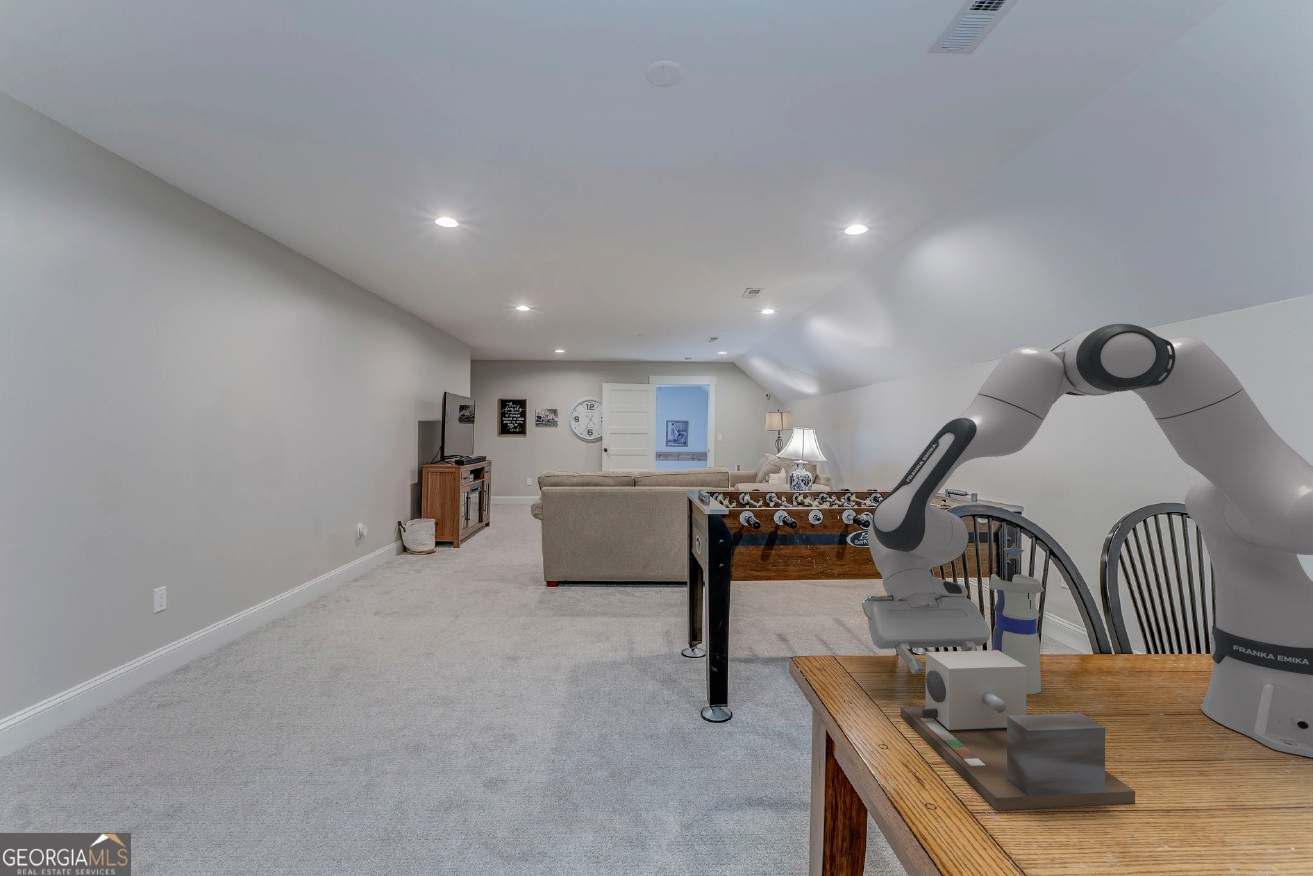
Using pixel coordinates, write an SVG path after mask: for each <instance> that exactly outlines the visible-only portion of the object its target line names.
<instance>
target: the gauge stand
mask: <svg viewBox="0 0 1313 876" xmlns="http://www.w3.org/2000/svg"><path fill="white" fill-rule="evenodd" d="M922 709H926V705H912V706H911V705H909V706H900V717H901V718H902V719H903V720H904V721H905V722H906V723H907V724H908V725H909V726H910V727H911V728H912V729H913V730H914V731H915V732H916V733H917V734H918V735H919V736H921V738H922V739H924V741H925V742H926V743H927V744H929V746H930V747H932V749H933V750H934V751H936V753H938V755H940V756H941V757H942V758H943V759H944V760H945V762H947V763H948V765H950V767H952V768H953V769H954V770H955V771H956V773H958V774H959V775H960V776H961V777H962V779H964V780H965V781H966V782H967V783H968V784H969V785H970V786H971V787H972V788H973V789H974V790H975V791H976V792H978V794H979V795H980V796H981V797H982V798H983V799H984V800H985V802H987V803H988V804H989V805H990V806H991V807H992V808H993V809H995V811H1010V810H1011V811H1013V810H1029V809H1050V808H1051V809H1052V808H1067V807H1069V808H1070V807H1086V806H1105V805H1106V806H1107V805H1108V806H1109V805H1124V804H1125V805H1127V804H1136V790H1134V789H1133V788H1132V787H1130V786H1129V785H1127V784H1126V783H1125V782H1123V781H1121V780H1120V779H1118V778H1117V777H1115V776H1114V775H1112V774H1111V773H1110V772H1108V771H1107V770H1106V726H1103V725H1102V724H1100V723H1099V722H1096V721H1095V720H1094V719H1092V718H1090V717H1089V716H1087V715H1086V714H1083V713H1082V712H1073V713H1070V712H1069V713H1045V714H1044V713H1043V714H1026V715H1014V716H1007V727H1006V728H981V729H957V730H949V729H947V728H946V727H945V726H944V725H943V724H942V723H941V722H940V721H938V720H937V719H936V718H925V719H924V718H923V717H922Z"/></svg>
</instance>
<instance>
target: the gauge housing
mask: <svg viewBox="0 0 1313 876" xmlns="http://www.w3.org/2000/svg"><path fill="white" fill-rule="evenodd" d="M925 706H926V709H922V717H923V718H924V719H925V718H936V719H937V720H938V721H940V722H941V723H942V724H943V725H944V726H945V727H946V728H947V729H949V730H957V729H981V728H1006V727H1007V716H1014V715H1027V694H1026V666H1025V665H1023V664H1022V663H1020V662H1018V661H1016V660H1014V659H1013V658H1011V657H1009V656H1007V655H1006V654H1004V653H1002V652H1000V651H998V650H993V649H992V650H990V649H989V650H976V651H962V650H961V651H957V650H956V651H955V650H954V651H932V652H931V651H929V652H928V651H927V652H925Z"/></svg>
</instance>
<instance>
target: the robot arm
mask: <svg viewBox="0 0 1313 876" xmlns="http://www.w3.org/2000/svg"><path fill="white" fill-rule="evenodd" d="M1128 391H1132V392H1134V393H1135V394H1136V395H1138V397H1140V398H1141V400H1143V401H1144V402H1145V404H1146V406H1147V408H1148V410H1149V411H1150V413H1151V414H1152V416H1153V418H1154V419H1155V421H1156V423H1157V424H1158V426H1159V428H1160V429H1161V431H1162V432H1163V433H1164V435H1165V436H1166V439H1167V440H1168V441H1169V444H1170V445H1171V446H1172V448H1173V449H1174V452H1175V453H1176V454H1177V455H1178V457H1179V458H1180V459H1181V461H1183V462H1184V463H1185V464H1186V465H1188V466H1190V467H1192V468H1193V469H1194V470H1195V471H1197V472H1198V473H1199V474H1201V475H1202V476H1203V477H1204V478H1202V479H1200V480H1198V481H1197V482H1195V483H1193V485H1191V487H1189V489H1188V490H1187V492H1186V495H1185V498H1184V506H1185V511H1186V513H1187V515H1188V516H1189V517H1190V519H1192V521H1193V522H1194V524H1196V526H1197V528H1198V529H1199V531H1200V534H1201V537H1202V538H1203V540H1204V541H1203V542H1204V544H1205V548H1206V550H1207V554H1208V556H1209V560H1210V563H1211V566H1212V570H1213V575H1214V586H1215V587H1214V588H1215V624H1213V625H1212V626H1211V632H1210V656H1211V658H1212V659H1211V660H1212V661H1213V664H1212V669H1211V675H1210V680H1209V685H1208V688H1207V691H1206V694H1205V697H1204V698H1203V701H1202V702H1201V704H1200V709H1201V711H1202V712H1203V713H1204V714H1205V716H1207V717H1208V718H1210V719H1212V720H1214V721H1215V722H1217V723H1219V724H1220V725H1222V726H1223V727H1224V726H1225V727H1227V728H1229V729H1231V730H1234V731H1236V732H1238V733H1240V734H1243V735H1245V736H1247V737H1250V738H1252V739H1254V740H1255V741H1257V742H1259V743H1260V744H1262V745H1264V746H1266V747H1268V748H1271V749H1273V750H1276V751H1280V752H1284V753H1288V754H1293V755H1298V756H1304V757H1309V758H1313V580H1312V579H1311V578H1310V577H1309V576H1308V574H1307V573H1306V571H1305V570H1304V568H1303V566H1302V564H1301V562H1300V559H1299V557H1298V555H1299V556H1300V555H1301V556H1303V555H1304V556H1313V465H1312V464H1311V463H1309V462H1308V461H1307V460H1306V459H1305V458H1304V457H1303V456H1301V454H1299V453H1298V452H1297V451H1296V450H1294V448H1292V447H1291V446H1290V445H1289V444H1288V443H1287V442H1286V441H1284V440H1283V438H1282V437H1280V435H1278V433H1277V432H1276V431H1275V430H1274V429H1273V428H1272V426H1271V425H1270V424H1269V422H1268V421H1267V420H1266V418H1265V417H1264V415H1263V414H1262V412H1261V411H1260V410H1259V408H1258V407H1257V405H1256V404H1255V402H1254V401H1253V399H1252V398H1251V396H1250V394H1248V392H1247V390H1246V389H1245V388H1244V386H1243V385H1242V383H1241V382H1240V381H1239V379H1238V378H1237V376H1236V375H1235V374H1234V373H1233V371H1232V370H1231V368H1230V367H1229V366H1228V365H1227V364H1226V363H1225V362H1224V361H1223V360H1222V358H1221V357H1220V356H1218V354H1216V353H1215V351H1214V350H1212V348H1210V347H1209V346H1208V345H1207V344H1206V343H1205V342H1203V341H1202V340H1200V339H1198V338H1195V337H1191V336H1189V337H1187V336H1183V337H1182V336H1181V337H1180V336H1177V337H1172V338H1167V339H1165V338H1163V337H1161V336H1159V335H1157V334H1155V333H1154V332H1153V331H1151V330H1149V329H1147V328H1146V327H1145V328H1144V327H1142V326H1140V325H1136V324H1133V323H1113V324H1111V323H1110V324H1108V325H1103V326H1102V327H1097V328H1093V329H1089V330H1086V331H1083V332H1081V333H1079V334H1078V335H1076V336H1074V337H1072V338H1070V339H1067V340H1066V341H1063V342H1061V343H1059V344H1058V345H1056V346H1055V347H1054V348H1052V349H1050V350H1047V349H1046V348H1042V347H1038V346H1020V347H1016V348H1014V349H1011V350H1010V351H1009V352H1008V353H1007V354H1005V356H1004V357H1003V358H1002V359H1001V360H1000V361H999V363H997V365H996V366H995V368H994V369H993V370H992V371H991V373H990V374H989V375H988V377H987V379H986V380H985V381H984V383H983V384H982V386H981V387H980V389H979V391H978V392H977V393H976V395H975V397H974V399H973V400H972V401H971V403H970V405H969V406H968V407H967V408H966V409H965V410H964V411H963V413H961V414H960V415H959V416H958V417H957V418H955V419H952V420H950V421H949V422H947V423H945V425H943V426H942V427H941V428H940V430H938V432H937V433H936V434H935V435H934V436H933V438H932V439H931V440H930V441H929V443H928V444H927V445H926V447H925V448H924V449H923V451H922V452H921V453H920V455H919V456H918V458H917V459H916V460H915V461H914V463H913V464H912V465H911V467H910V468H909V469H908V470H907V472H906V473H905V475H904V476H903V477H902V478H901V479H900V481H899V482H898V483H897V485H895V487H894V488H893V489H891V490H890V491H889V492H888V493H887V494H886V495H885V496H884V497H883V498H882V499H881V500H880V501H879V502H878V503H877V505H876V506H875V509H874V510H873V512H872V518H871V519H872V520H871V521H872V522H871V523H870V525H869V526H868V529H867V541H868V542H867V543H868V546H869V551H870V554H871V557H872V560H873V563H874V565H875V568H876V570H877V571H878V572H879V573H880V575H881V577H882V586H883V588H884V589H883V590H884V591H885V594H886V595H877V596H876V595H868V596H867V597H866V598H865V599H863V601H862V602H861V607H862V610H863V613H864V615H865V617H866V618H867V624H868V629H869V633H870V637H871V642H872V644H873V645H875V647H877V648H878V649H880V650H886V649H888V650H889V649H890V650H891V649H893V650H894V649H895V650H896V652H897V655H898V656H899V657H900V658H901V659H902V660H903V661H904V662H905V663H906V664H908V667H909V670H910V672H911V673H912V674H922V673H923V672H924V671H925V667H924V665H923V662H922V660H921V658H916V657H915V656H914V655H913V654H912V653H911V652H910V651H909V650H910V649H918V648H919V649H921V648H922V649H923V648H955V647H956V648H958V647H960V649H961V651H977V647H981V646H983V645H985V643H987V642H988V641H989V639H990V637H991V630H990V627H989V625H988V624H987V621H986V620H985V617H984V616H983V614H982V612H981V610H980V609H979V608H978V606H977V605H976V604H975V603H974V602H973V601H972V600H971V599H969V598H967V596H968V594H969V592H968V590H967V588H966V586H965V585H963V584H961V583H956V582H953V581H951V580H950V581H949V580H945V579H943V578H940V577H937V576H934V575H933V574H932V572H931V570H932V569H933V568H938V567H942V566H944V565H946V564H949V563H952V562H954V561H956V560H957V559H959V558H961V557H962V556H963V555H964V553H965V552H966V550H967V549H968V546H969V541H970V533H969V528H968V526H967V524H966V522H965V521H964V519H962V518H961V517H960V516H958V515H956V514H955V513H951V512H950V511H947V510H945V509H943V508H941V507H940V508H939V507H937V506H934V505H931V503H932V501H933V500H934V499H935V497H936V495H937V494H938V493H939V492H940V490H941V489H942V488H943V486H944V485H945V484H946V482H947V481H948V480H949V479H950V477H951V476H952V475H953V473H954V472H955V471H956V469H958V468H959V467H960V466H962V465H963V464H964V463H966V462H968V461H971V460H975V459H978V458H987V457H988V458H993V457H994V458H997V457H1006V456H1009V455H1013V454H1016V453H1018V452H1020V451H1022V450H1023V449H1024V448H1025V447H1026V446H1027V445H1028V444H1029V443H1030V442H1031V441H1032V440H1033V438H1034V437H1035V436H1036V435H1037V433H1038V431H1039V429H1040V427H1041V426H1042V424H1043V423H1044V421H1045V420H1046V418H1047V415H1048V414H1049V412H1050V411H1051V408H1052V407H1053V405H1054V404H1055V403H1056V402H1057V401H1058V400H1059V399H1060V398H1061V397H1062V396H1064V395H1068V396H1069V395H1070V396H1077V397H1079V396H1080V397H1083V396H1090V397H1091V396H1093V397H1094V396H1107V395H1111V394H1115V393H1118V392H1119V393H1121V392H1128Z"/></svg>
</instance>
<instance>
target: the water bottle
mask: <svg viewBox="0 0 1313 876" xmlns="http://www.w3.org/2000/svg"><path fill="white" fill-rule="evenodd" d="M1003 551H1005V552H1006V553H1008V555H1007V558H1006V560H1012V559H1015V560H1017V561H1020V560H1021V558H1020V557H1021V556H1020V554H1022V553H1023V552H1025V549H1022V548H1021V549H1020V548H1018V547H1017V545H1016V544H1015V543H1013V544H1012V546H1011V547H1009V548H1003ZM988 589H989V590H990V591H995V590H996V596H997V598H996V599H997V600H996V602H995V605H994V606H993V610H994V611H995V613H994V616H995V626H994V628H993V632H992V650H998V651H1000V652H1002V653H1004V654H1006V655H1007V656H1009V657H1011V658H1013V659H1014V660H1016V661H1018V662H1020V663H1022V664H1023V665H1025V666H1026V695H1036V694H1040V693H1042V690H1043V689H1042V676H1041V642H1040V641H1041V640H1040V636H1039V634H1038V629H1037V627H1038V618H1039V617H1040V613H1039V611H1038V610H1037V607H1036V606H1037V605H1036V597H1037V594H1040V593H1043V592H1044V591H1045V590H1044V587H1043V585H1042V584H1041V581H1040V580H1039V579H1038V578H1034V577H1032V576H1028V575H1025V574H1018V573H1017V574H1013V576H1012V580H1011V581H1008V580H1002V579H1000V578H999V576H998V575H996V574H994V573H992V574H991V575H990V581H989V587H988ZM1028 593H1029V599H1028ZM1030 600H1031V609H1030Z"/></svg>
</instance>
